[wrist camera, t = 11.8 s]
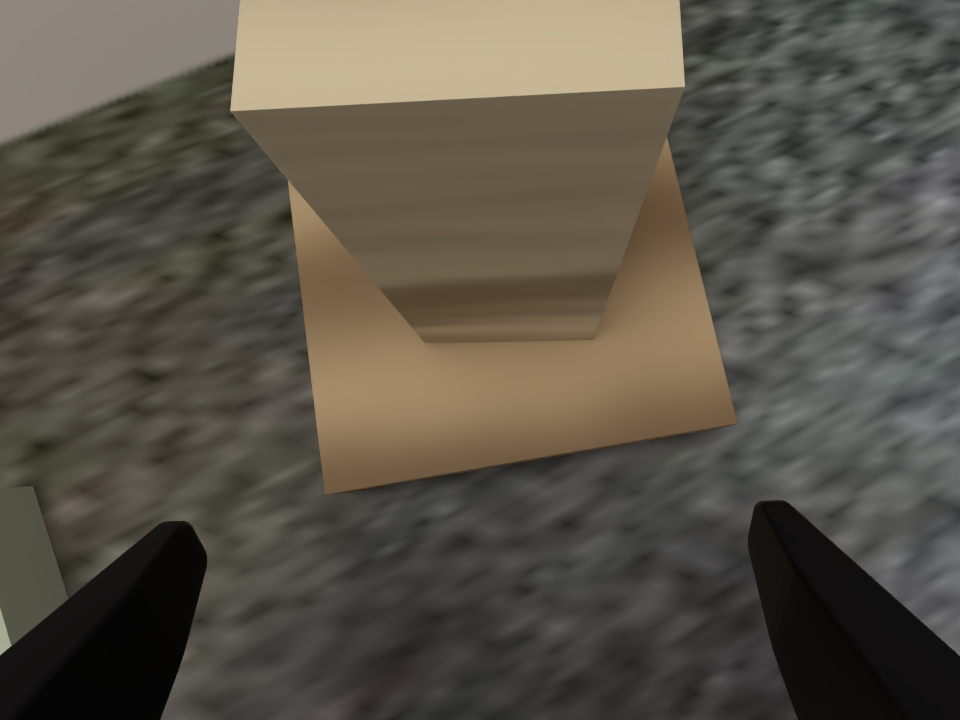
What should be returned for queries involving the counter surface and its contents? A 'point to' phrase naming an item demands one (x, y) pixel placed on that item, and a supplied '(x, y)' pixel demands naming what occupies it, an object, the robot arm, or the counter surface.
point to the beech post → (469, 145)
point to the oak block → (508, 364)
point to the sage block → (25, 566)
